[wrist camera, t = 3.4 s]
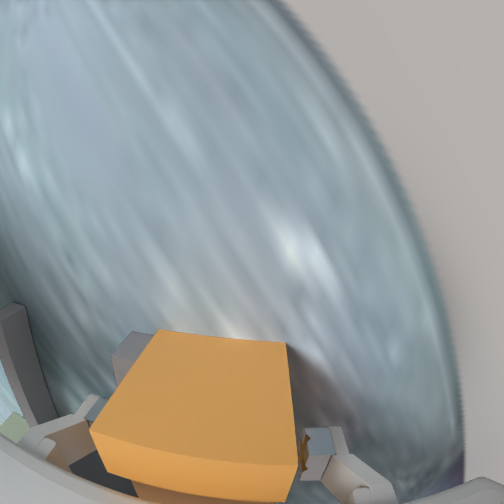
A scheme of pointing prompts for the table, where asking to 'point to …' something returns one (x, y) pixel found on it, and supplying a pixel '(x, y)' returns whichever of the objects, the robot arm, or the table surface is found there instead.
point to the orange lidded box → (202, 422)
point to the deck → (37, 395)
